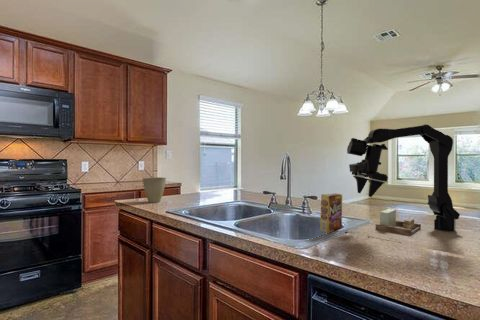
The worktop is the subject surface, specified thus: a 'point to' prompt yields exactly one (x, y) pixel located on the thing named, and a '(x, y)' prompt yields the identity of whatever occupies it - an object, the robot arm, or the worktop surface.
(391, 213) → the pale grey rectangular block
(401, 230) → the rack
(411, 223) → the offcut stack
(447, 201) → the robot arm
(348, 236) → the worktop surface
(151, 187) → the plant pot
